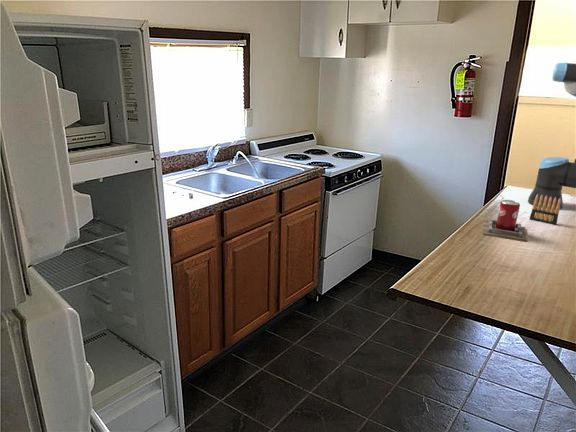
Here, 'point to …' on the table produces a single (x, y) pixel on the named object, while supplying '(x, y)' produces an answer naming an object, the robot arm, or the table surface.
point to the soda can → (507, 215)
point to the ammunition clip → (547, 213)
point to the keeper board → (504, 231)
